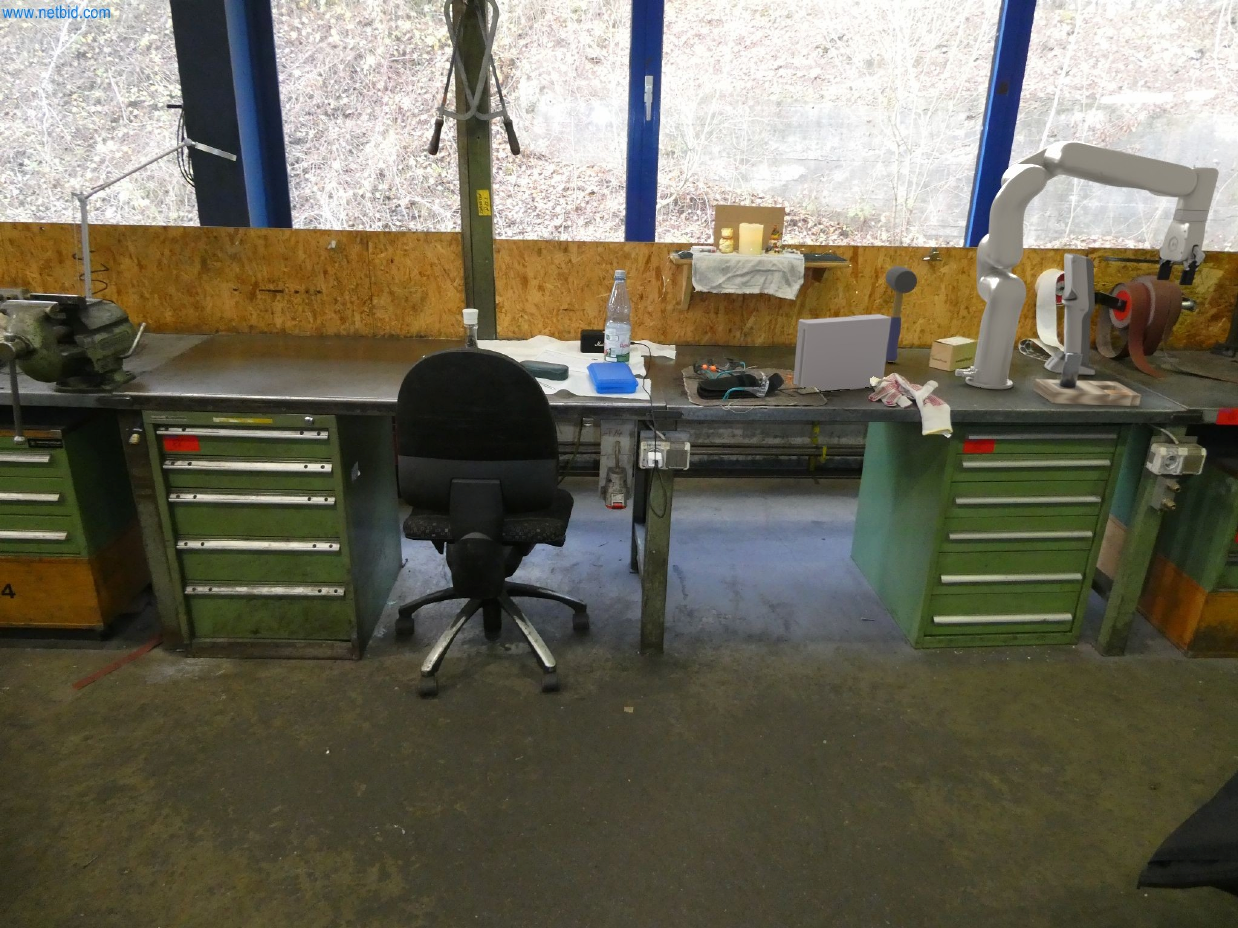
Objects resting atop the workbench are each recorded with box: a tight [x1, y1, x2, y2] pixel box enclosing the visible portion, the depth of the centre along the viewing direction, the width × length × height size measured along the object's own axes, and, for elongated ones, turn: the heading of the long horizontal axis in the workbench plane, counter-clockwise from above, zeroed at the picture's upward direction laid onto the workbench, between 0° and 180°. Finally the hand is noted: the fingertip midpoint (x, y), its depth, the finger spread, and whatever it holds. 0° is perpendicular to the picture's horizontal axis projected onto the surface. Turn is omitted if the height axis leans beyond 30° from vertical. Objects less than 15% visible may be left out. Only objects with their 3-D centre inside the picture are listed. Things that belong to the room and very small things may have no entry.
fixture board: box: [1032, 378, 1142, 407], centre depth 222 cm, size 22×14×3 cm, turn 84°
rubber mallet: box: [885, 265, 918, 362], centre depth 254 cm, size 12×8×30 cm, turn 176°
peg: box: [1059, 352, 1083, 388], centre depth 220 cm, size 4×4×9 cm
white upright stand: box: [1043, 252, 1096, 376], centre depth 245 cm, size 12×13×35 cm
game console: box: [792, 313, 892, 391], centre depth 226 cm, size 6×27×20 cm, turn 111°
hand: (1173, 282), depth 219 cm, fingers open, 9 cm apart
